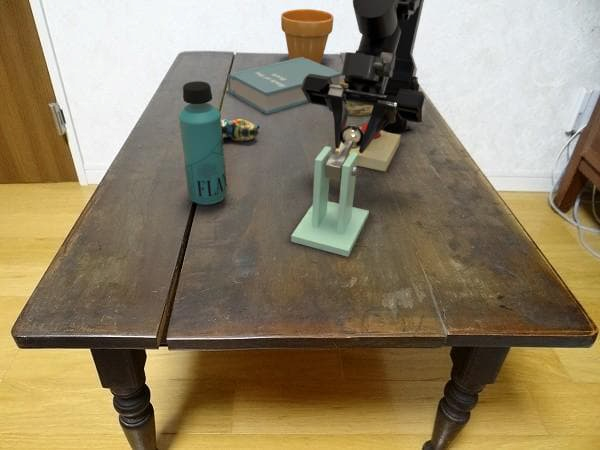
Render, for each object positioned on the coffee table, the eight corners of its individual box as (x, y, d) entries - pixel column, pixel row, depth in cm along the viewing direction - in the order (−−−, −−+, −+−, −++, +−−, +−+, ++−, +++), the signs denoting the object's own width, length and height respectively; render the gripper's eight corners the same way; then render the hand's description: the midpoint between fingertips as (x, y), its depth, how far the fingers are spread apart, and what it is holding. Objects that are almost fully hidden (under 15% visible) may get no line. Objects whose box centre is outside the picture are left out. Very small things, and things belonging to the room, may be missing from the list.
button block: (352, 135, 102) (354, 117, 99) (399, 144, 99) (402, 126, 97) (334, 160, 93) (335, 142, 90) (385, 171, 90) (388, 152, 88)
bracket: (316, 204, 81) (320, 134, 73) (368, 216, 78) (377, 145, 70) (290, 241, 72) (292, 167, 65) (348, 257, 70) (356, 181, 62)
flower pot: (340, 63, 139) (344, 15, 131) (308, 75, 130) (310, 24, 123) (303, 52, 146) (304, 6, 139) (270, 63, 138) (270, 14, 130)
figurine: (193, 114, 104) (262, 116, 102) (194, 134, 105) (262, 137, 104) (177, 119, 94) (253, 122, 92) (178, 142, 95) (254, 144, 94)
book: (266, 114, 109) (266, 93, 106) (228, 92, 119) (227, 72, 116) (340, 92, 121) (341, 73, 118) (299, 74, 131) (300, 55, 128)
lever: (344, 138, 77) (345, 118, 74) (366, 142, 76) (368, 122, 73) (320, 180, 70) (320, 159, 67) (344, 185, 69) (345, 165, 66)
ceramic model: (351, 120, 108) (356, 76, 102) (321, 103, 115) (323, 61, 109) (396, 106, 115) (403, 64, 109) (365, 91, 122) (369, 51, 116)
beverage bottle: (195, 217, 77) (180, 96, 65) (183, 196, 82) (167, 80, 70) (234, 207, 79) (226, 89, 67) (220, 187, 84) (210, 74, 72)
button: (363, 130, 96) (364, 122, 94) (381, 133, 94) (382, 125, 93) (358, 137, 93) (359, 129, 92) (376, 141, 92) (377, 133, 91)
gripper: (307, 18, 70) (277, 119, 68) (437, 35, 65) (407, 144, 63) (322, 57, 81) (296, 144, 79) (435, 74, 75) (409, 168, 74)
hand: (348, 150), depth 74 cm, fingers closed on lever, 3 cm apart
